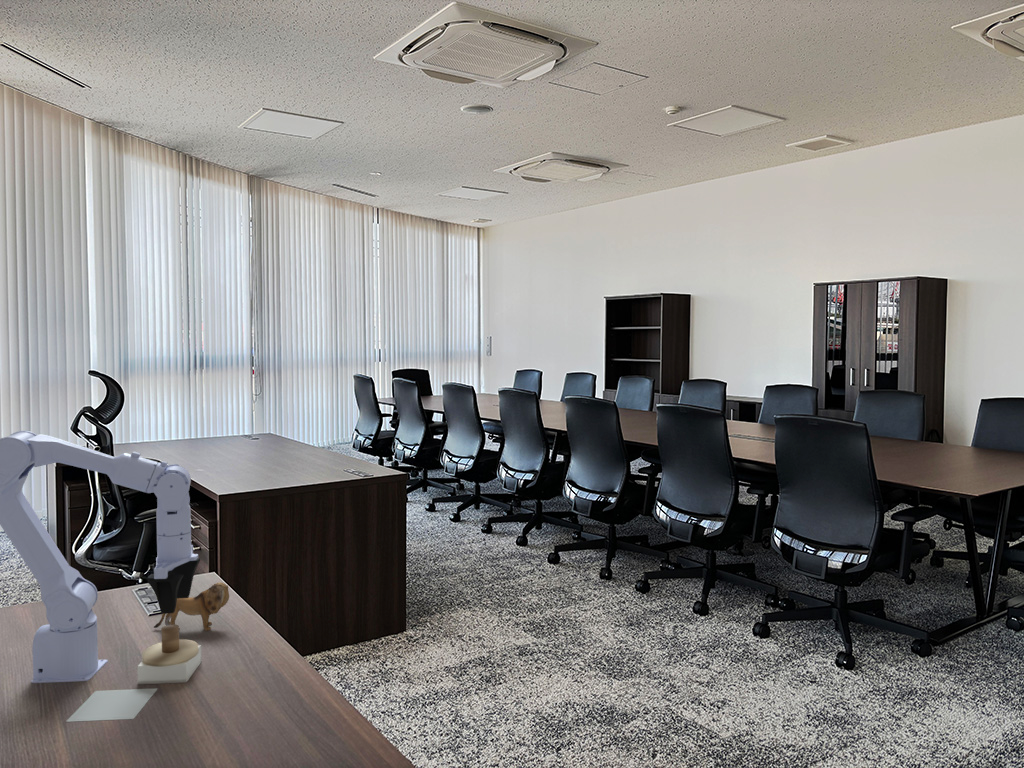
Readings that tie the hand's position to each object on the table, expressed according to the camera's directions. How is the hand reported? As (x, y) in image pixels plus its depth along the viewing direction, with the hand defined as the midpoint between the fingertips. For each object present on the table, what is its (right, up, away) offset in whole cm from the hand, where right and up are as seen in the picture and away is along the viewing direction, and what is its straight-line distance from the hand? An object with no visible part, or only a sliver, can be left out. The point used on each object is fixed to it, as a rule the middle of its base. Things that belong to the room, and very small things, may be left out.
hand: (175, 605), depth 135 cm
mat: (-2, -11, -17) cm, 20 cm away
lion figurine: (-4, -10, +17) cm, 19 cm away
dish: (+2, -11, -5) cm, 12 cm away
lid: (+2, -7, -5) cm, 9 cm away
